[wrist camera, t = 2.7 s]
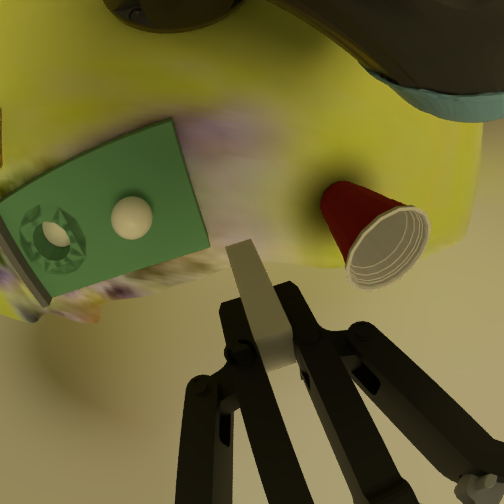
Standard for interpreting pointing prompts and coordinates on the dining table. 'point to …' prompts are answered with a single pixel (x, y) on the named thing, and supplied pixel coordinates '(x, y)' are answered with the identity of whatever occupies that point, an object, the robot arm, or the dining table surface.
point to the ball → (131, 217)
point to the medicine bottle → (0, 141)
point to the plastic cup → (374, 234)
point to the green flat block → (101, 214)
